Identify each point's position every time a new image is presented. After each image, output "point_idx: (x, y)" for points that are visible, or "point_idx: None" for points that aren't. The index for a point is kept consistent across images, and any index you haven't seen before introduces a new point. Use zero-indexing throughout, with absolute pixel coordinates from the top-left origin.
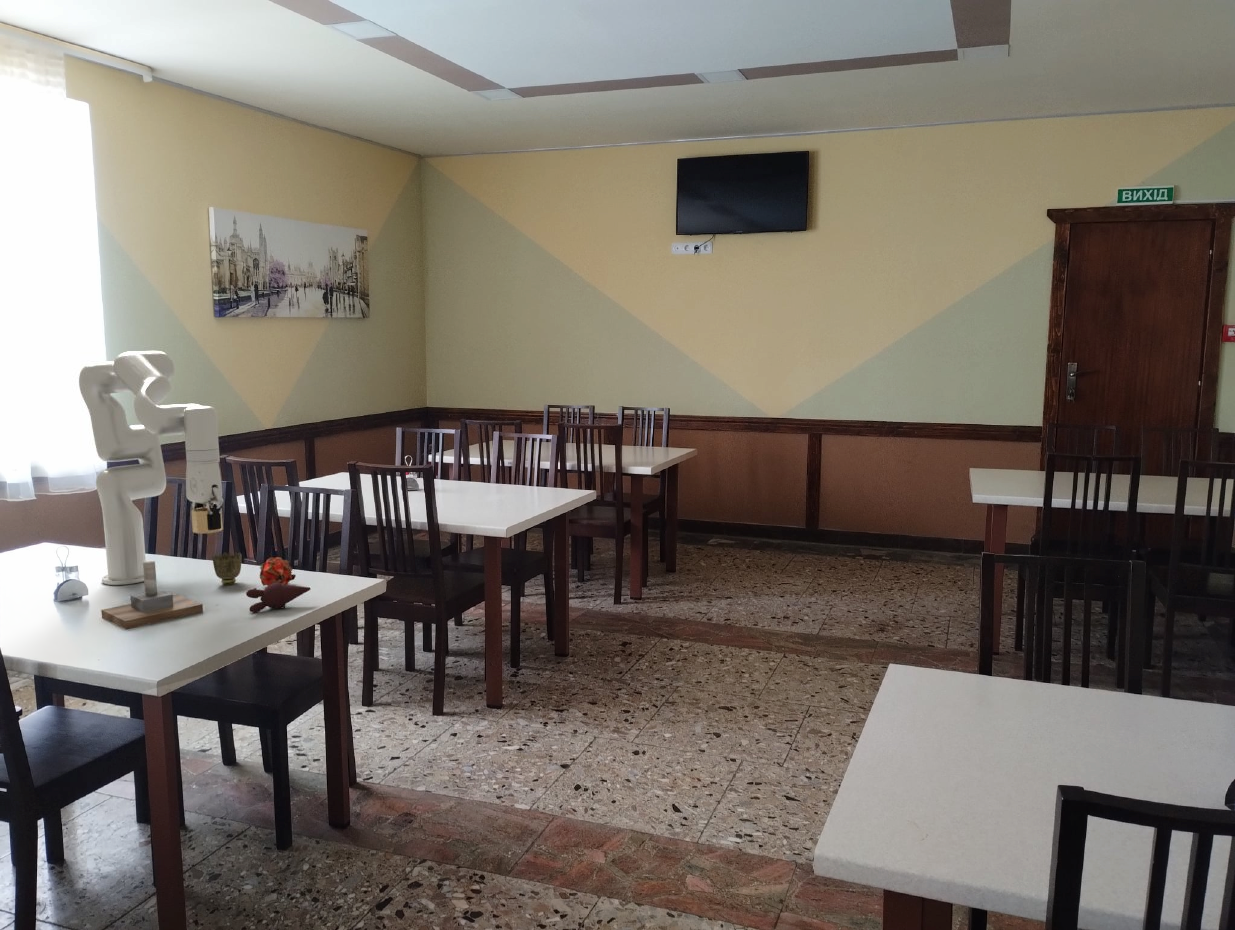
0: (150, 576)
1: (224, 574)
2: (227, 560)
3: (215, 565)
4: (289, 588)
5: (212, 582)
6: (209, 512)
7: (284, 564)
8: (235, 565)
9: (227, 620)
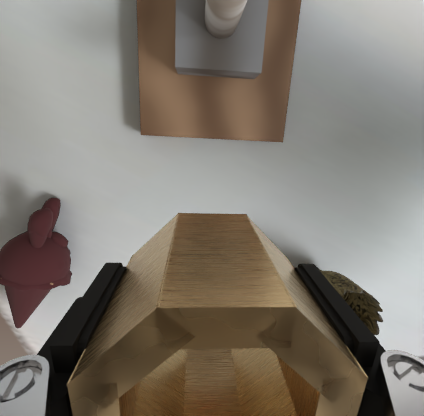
0: None
1: None
2: None
3: (339, 281)
4: (6, 290)
5: (353, 265)
6: (24, 377)
7: None
8: None
9: (33, 134)
